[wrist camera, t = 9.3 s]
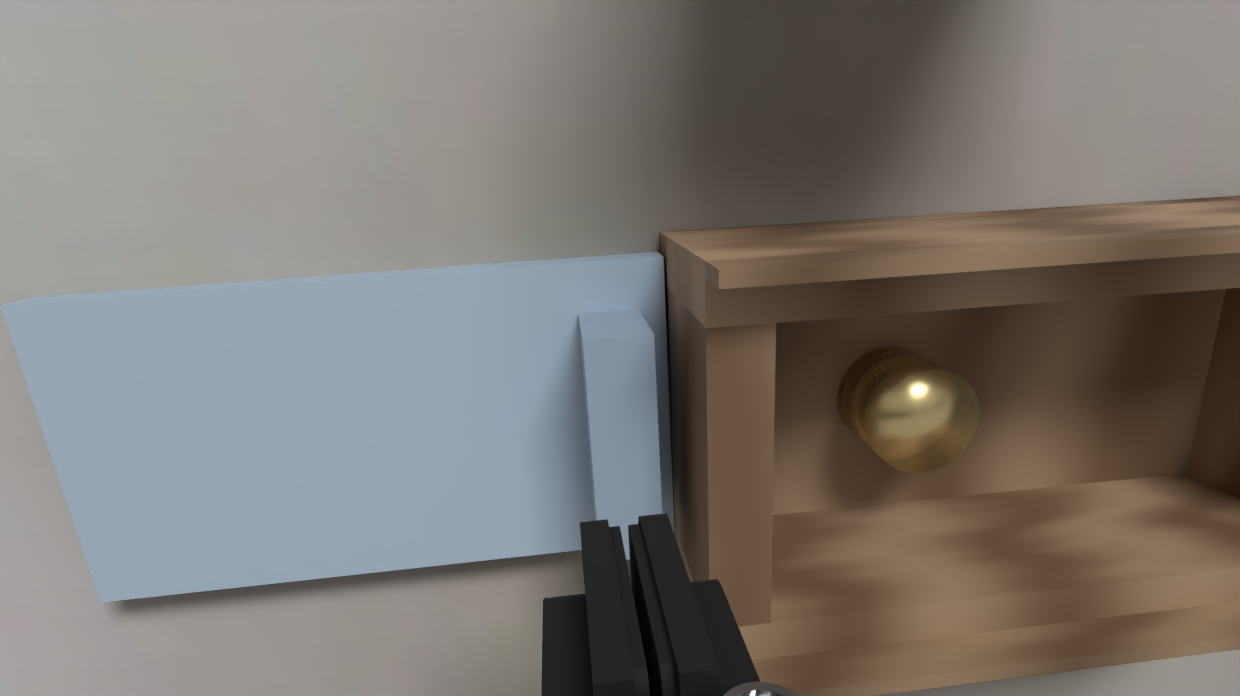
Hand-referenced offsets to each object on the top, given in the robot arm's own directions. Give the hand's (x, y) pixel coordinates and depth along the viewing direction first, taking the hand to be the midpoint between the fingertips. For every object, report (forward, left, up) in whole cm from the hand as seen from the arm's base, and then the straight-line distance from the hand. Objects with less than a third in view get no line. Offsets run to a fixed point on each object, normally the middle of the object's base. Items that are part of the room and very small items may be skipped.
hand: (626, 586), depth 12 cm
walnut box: (-12, 0, -9) cm, 15 cm away
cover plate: (+7, 0, -10) cm, 12 cm away
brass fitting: (-9, 0, -8) cm, 12 cm away
